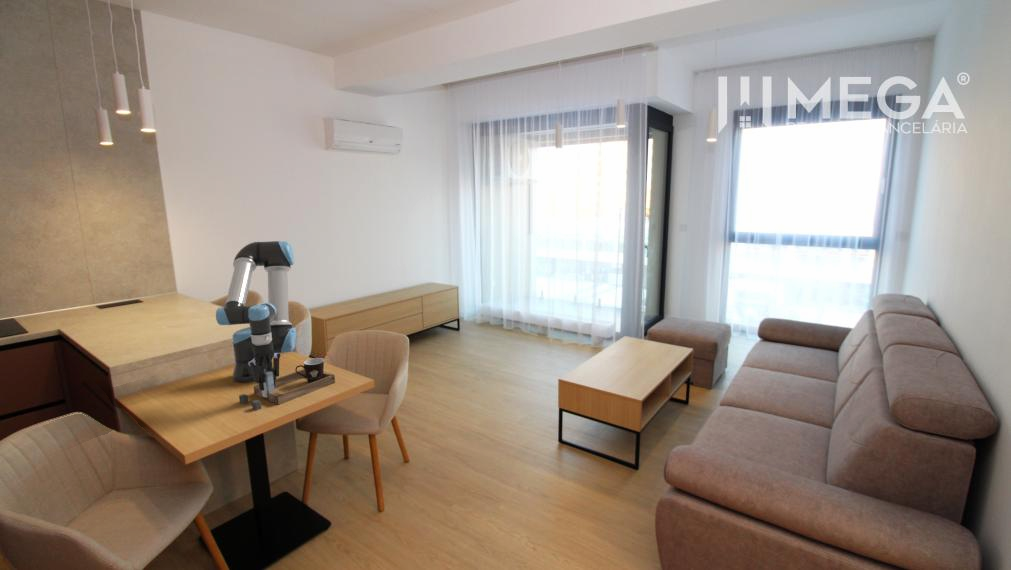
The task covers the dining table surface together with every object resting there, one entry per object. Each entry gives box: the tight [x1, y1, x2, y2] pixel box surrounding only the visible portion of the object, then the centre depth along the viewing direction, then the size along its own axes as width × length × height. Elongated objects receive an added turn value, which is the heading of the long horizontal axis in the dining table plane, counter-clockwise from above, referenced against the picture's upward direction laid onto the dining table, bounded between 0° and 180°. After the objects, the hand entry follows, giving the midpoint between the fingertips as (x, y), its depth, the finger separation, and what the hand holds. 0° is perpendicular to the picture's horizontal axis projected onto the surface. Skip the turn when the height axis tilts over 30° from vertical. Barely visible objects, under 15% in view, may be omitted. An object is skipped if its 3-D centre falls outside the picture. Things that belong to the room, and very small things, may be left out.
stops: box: [238, 393, 262, 411], centre depth 196 cm, size 13×2×3 cm, turn 56°
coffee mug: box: [294, 357, 325, 384], centre depth 218 cm, size 12×9×10 cm
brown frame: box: [253, 368, 336, 406], centre depth 211 cm, size 18×28×12 cm
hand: (268, 395), depth 202 cm, fingers open, 2 cm apart
